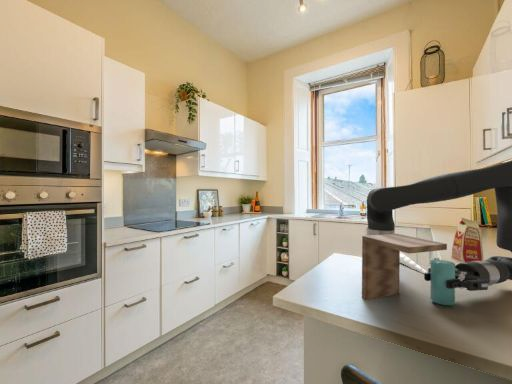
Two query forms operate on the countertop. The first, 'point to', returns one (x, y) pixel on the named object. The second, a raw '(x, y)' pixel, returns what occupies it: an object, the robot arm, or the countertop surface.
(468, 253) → the milk carton
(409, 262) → the unicorn horn
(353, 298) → the countertop surface
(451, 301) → the teal rounded cylinder
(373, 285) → the shelf
